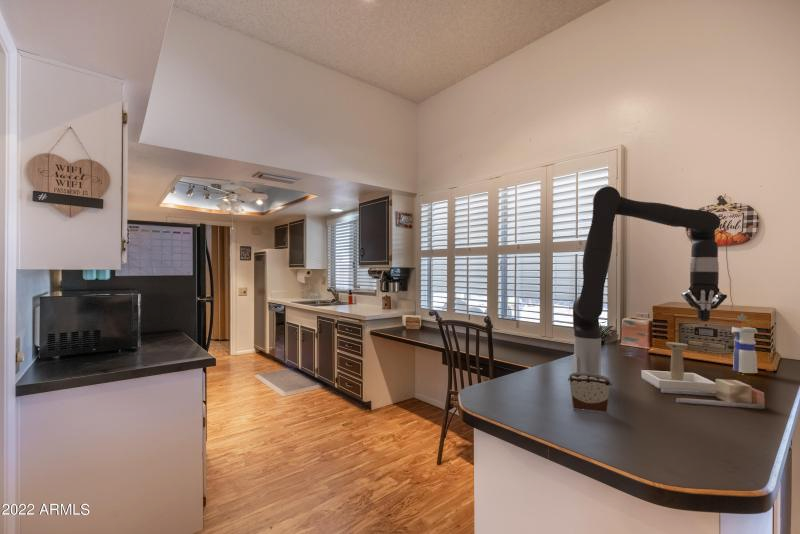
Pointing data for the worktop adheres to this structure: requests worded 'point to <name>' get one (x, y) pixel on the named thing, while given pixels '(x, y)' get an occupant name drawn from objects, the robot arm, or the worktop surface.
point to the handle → (677, 360)
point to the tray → (688, 383)
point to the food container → (590, 391)
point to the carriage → (733, 391)
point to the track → (756, 401)
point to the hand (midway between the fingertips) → (703, 320)
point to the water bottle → (744, 349)
